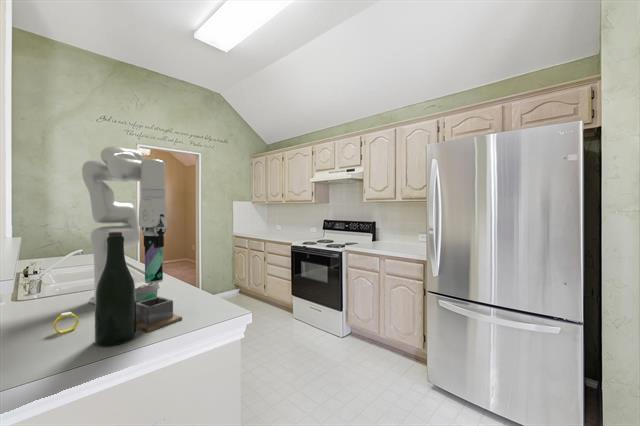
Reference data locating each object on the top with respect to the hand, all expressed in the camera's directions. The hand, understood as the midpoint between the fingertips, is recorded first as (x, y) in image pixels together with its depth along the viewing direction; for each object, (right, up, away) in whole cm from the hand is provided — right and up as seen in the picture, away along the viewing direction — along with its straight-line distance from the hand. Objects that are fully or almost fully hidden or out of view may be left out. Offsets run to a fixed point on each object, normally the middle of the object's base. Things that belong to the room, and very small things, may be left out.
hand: (153, 246), depth 100 cm
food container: (-9, -27, +11) cm, 30 cm away
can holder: (0, -27, +1) cm, 27 cm away
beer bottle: (-4, -27, -13) cm, 30 cm away
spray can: (0, -13, 0) cm, 13 cm away
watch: (-24, -27, -7) cm, 37 cm away
